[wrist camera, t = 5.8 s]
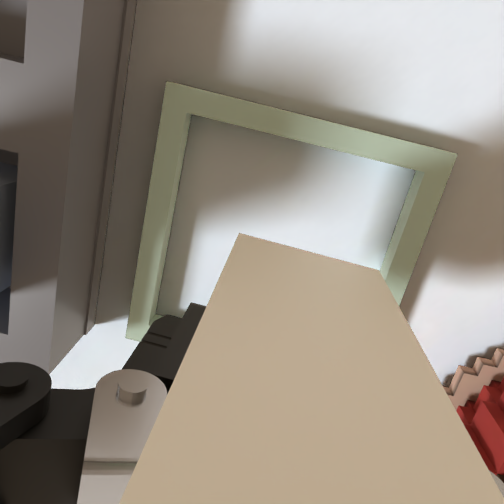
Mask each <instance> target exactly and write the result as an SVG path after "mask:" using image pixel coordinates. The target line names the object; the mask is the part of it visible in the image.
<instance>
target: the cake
mask: <svg viewBox="0 0 504 504" xmlns="http://www.w3.org/2000/svg"><path fill="white" fill-rule="evenodd" d="M443 388H444V390H445V391H446V393H447V395H448V397H449V399H450V400H451V402H452V404H453V406H454V408H455V410H456V411H457V413H458V415H459V417H460V419H461V421H462V422H463V424H464V426H465V428H466V430H467V431H468V433H469V435H470V437H471V439H472V441H473V442H474V444H475V446H476V448H477V450H478V452H479V453H480V455H481V457H482V459H483V461H484V462H485V464H486V466H487V468H488V470H489V471H491V472H492V473H493V474H495V475H496V476H497V477H498V478H499V479H500V480H501V481H502V482H503V483H504V350H503V349H499V348H497V349H496V351H495V353H494V355H493V357H492V359H491V360H490V359H486V358H481V357H477V359H476V361H475V363H474V366H473V368H469V367H465V366H461V365H459V366H458V368H457V370H456V373H455V375H454V377H453V379H452V382H451V384H450V386H449V388H448V387H444V386H443Z"/></svg>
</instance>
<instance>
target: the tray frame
mask: <svg viewBox="0 0 504 504" xmlns="http://www.w3.org/2000/svg"><path fill="white" fill-rule="evenodd" d="M192 114H193V115H197V116H201V117H205V118H209V119H213V120H217V121H221V122H225V123H229V124H233V125H237V126H241V127H245V128H249V129H253V130H257V131H261V132H265V133H269V134H273V135H277V136H281V137H285V138H289V139H293V140H297V141H301V142H305V143H309V144H313V145H317V146H321V147H325V148H329V149H333V150H337V151H341V152H345V153H349V154H353V155H357V156H361V157H365V158H369V159H373V160H377V161H381V162H385V163H389V164H393V165H397V166H401V167H405V168H409V169H413V170H416V172H415V174H414V177H413V180H412V183H411V186H410V188H409V191H408V194H407V197H406V199H405V202H404V205H403V208H402V211H401V213H400V216H399V219H398V222H397V224H396V227H395V230H394V233H393V236H392V238H391V241H390V244H389V247H388V249H387V252H386V255H385V258H384V261H383V263H382V266H381V269H380V273H381V275H382V276H383V278H384V280H385V282H386V284H387V286H388V287H389V289H390V291H391V293H392V295H393V296H394V298H395V300H396V302H397V304H398V306H399V305H400V303H401V300H402V298H403V295H404V293H405V290H406V287H407V285H408V282H409V280H410V277H411V274H412V272H413V269H414V267H415V264H416V262H417V259H418V256H419V254H420V251H421V249H422V246H423V243H424V241H425V238H426V236H427V233H428V231H429V228H430V225H431V223H432V220H433V218H434V215H435V212H436V210H437V207H438V205H439V202H440V199H441V197H442V194H443V192H444V189H445V187H446V184H447V181H448V179H449V176H450V174H451V171H452V168H453V166H454V163H455V161H456V158H457V156H458V154H456V153H453V152H449V151H446V150H442V149H438V148H434V147H430V146H426V145H422V144H418V143H414V142H410V141H406V140H402V139H398V138H394V137H390V136H386V135H382V134H378V133H374V132H370V131H366V130H362V129H358V128H354V127H350V126H346V125H342V124H338V123H334V122H330V121H326V120H322V119H318V118H314V117H310V116H306V115H302V114H298V113H294V112H290V111H286V110H282V109H278V108H274V107H270V106H266V105H262V104H258V103H254V102H250V101H246V100H242V99H238V98H234V97H230V96H226V95H222V94H218V93H214V92H210V91H206V90H202V89H198V88H194V87H190V86H186V85H182V84H178V83H174V82H169V81H166V86H165V92H164V98H163V105H162V111H161V117H160V123H159V130H158V136H157V142H156V149H155V155H154V161H153V167H152V174H151V180H150V186H149V192H148V199H147V205H146V211H145V218H144V224H143V230H142V236H141V243H140V249H139V255H138V261H137V268H136V274H135V280H134V287H133V293H132V299H131V305H130V312H129V318H128V324H127V330H126V337H125V338H127V339H131V340H135V341H139V342H141V340H142V338H143V337H144V335H145V334H146V333H147V331H148V329H149V328H150V326H151V325H152V323H153V322H154V321H155V320H157V319H159V318H161V317H163V316H162V315H158V314H155V313H156V308H157V302H158V297H159V291H160V286H161V280H162V275H163V269H164V264H165V258H166V253H167V247H168V242H169V236H170V231H171V225H172V220H173V214H174V209H175V203H176V198H177V192H178V187H179V181H180V176H181V170H182V165H183V159H184V154H185V148H186V143H187V137H188V132H189V126H190V121H191V115H192Z"/></svg>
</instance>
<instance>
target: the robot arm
mask: <svg viewBox="0 0 504 504" xmlns="http://www.w3.org/2000/svg"><path fill="white" fill-rule="evenodd" d="M206 307H207V306H203V305H199V304H196V303H192V302H191V303H190V305H189V307H188V309H187V311H186V312H185V314H184V316H183V318H179V317H175V316H171V315H168V314H167V315H165V316H163V317H161V318H159V319H157V320H155V321H154V322H153V323H152V325H151V326H150V328H149V329H148V331H147V333H146V334H145V335H144V337H143V338H142V340H141V342H140V343H139V344H138V346H137V347H136V349H135V350H134V352H133V353H132V355H131V356H130V358H129V359H128V361H127V362H126V364H125V365H124V367H123V368H122V370H117V371H113V372H110V373H108V374H106V375H105V376H103V377H102V378H101V379H100V380H99V381H98V383H97V384H96V388H91V389H83V390H73V389H51V384H52V383H51V378H50V376H49V374H48V373H47V372H46V371H45V370H44V369H42V368H40V367H38V366H36V365H33V364H30V363H24V362H5V363H0V504H119V502H120V500H121V498H122V496H123V493H124V491H125V489H126V487H127V484H128V482H129V480H130V478H131V475H132V473H133V471H134V469H135V466H136V464H137V462H138V460H139V457H140V455H141V453H142V451H143V448H144V446H145V444H146V442H147V439H148V437H149V435H150V433H151V430H152V428H153V426H154V424H155V421H156V419H157V417H158V415H159V412H160V410H161V408H162V406H163V403H164V401H165V399H166V397H167V394H168V392H169V390H170V388H171V385H172V383H173V381H174V379H175V376H176V374H177V372H178V370H179V367H180V365H181V363H182V361H183V358H184V356H185V354H186V352H187V349H188V347H189V345H190V343H191V340H192V338H193V336H194V334H195V331H196V329H197V327H198V325H199V322H200V320H201V318H202V316H203V313H204V311H205V309H206ZM489 472H490V473H491V475H492V477H493V479H494V481H495V483H496V484H497V486H498V488H499V490H500V492H501V493H502V495H503V497H504V483H503V482H502V481H501V480H500V479H499V478H498V477H497V476H496V475H495V474H493V473H492V472H491V471H489Z"/></svg>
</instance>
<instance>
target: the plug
mask: <svg viewBox="0 0 504 504" xmlns="http://www.w3.org/2000/svg"><path fill="white" fill-rule="evenodd" d="M119 504H504V497H503V495H502V493H501V492H500V490H499V488H498V486H497V484H496V483H495V481H494V479H493V477H492V475H491V473H490V472H489V470H488V468H487V466H486V464H485V462H484V461H483V459H482V457H481V455H480V453H479V452H478V450H477V448H476V446H475V444H474V442H473V441H472V439H471V437H470V435H469V433H468V431H467V430H466V428H465V426H464V424H463V422H462V421H461V419H460V417H459V415H458V413H457V411H456V410H455V408H454V406H453V404H452V402H451V400H450V399H449V397H448V395H447V393H446V391H445V390H444V388H443V386H442V384H441V382H440V380H439V379H438V377H437V375H436V373H435V371H434V369H433V368H432V366H431V364H430V362H429V360H428V359H427V357H426V355H425V353H424V351H423V349H422V348H421V346H420V344H419V342H418V340H417V338H416V337H415V335H414V333H413V331H412V329H411V327H410V326H409V324H408V322H407V320H406V318H405V317H404V315H403V313H402V311H401V309H400V307H399V306H398V304H397V302H396V300H395V298H394V296H393V295H392V293H391V291H390V289H389V287H388V286H387V284H386V282H385V280H384V278H383V276H382V275H381V273H380V271H379V270H376V269H372V268H368V267H365V266H361V265H357V264H353V263H350V262H346V261H342V260H338V259H335V258H331V257H327V256H323V255H320V254H316V253H312V252H309V251H305V250H301V249H297V248H294V247H290V246H286V245H282V244H279V243H275V242H271V241H267V240H264V239H260V238H256V237H252V236H249V235H245V234H241V233H239V235H238V237H237V239H236V241H235V244H234V246H233V248H232V250H231V253H230V255H229V257H228V259H227V262H226V264H225V266H224V268H223V271H222V273H221V275H220V277H219V280H218V282H217V284H216V286H215V289H214V291H213V293H212V295H211V298H210V300H209V302H208V304H207V307H206V309H205V311H204V313H203V316H202V318H201V320H200V322H199V325H198V327H197V329H196V331H195V334H194V336H193V338H192V340H191V343H190V345H189V347H188V349H187V352H186V354H185V356H184V358H183V361H182V363H181V365H180V367H179V370H178V372H177V374H176V376H175V379H174V381H173V383H172V385H171V388H170V390H169V392H168V394H167V397H166V399H165V401H164V403H163V406H162V408H161V410H160V412H159V415H158V417H157V419H156V421H155V424H154V426H153V428H152V430H151V433H150V435H149V437H148V439H147V442H146V444H145V446H144V448H143V451H142V453H141V455H140V457H139V460H138V462H137V464H136V466H135V469H134V471H133V473H132V475H131V478H130V480H129V482H128V484H127V487H126V489H125V491H124V493H123V496H122V498H121V500H120V502H119Z"/></svg>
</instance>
